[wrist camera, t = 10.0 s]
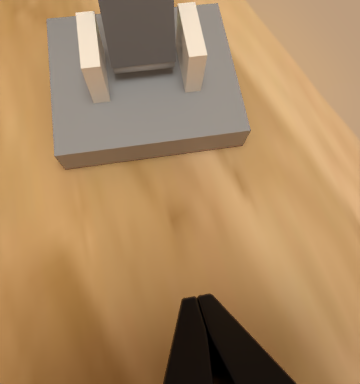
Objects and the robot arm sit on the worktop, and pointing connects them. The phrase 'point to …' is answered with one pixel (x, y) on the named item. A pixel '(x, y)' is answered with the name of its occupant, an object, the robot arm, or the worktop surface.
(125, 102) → the breaker base
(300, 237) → the worktop surface
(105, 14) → the lever
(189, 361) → the robot arm
